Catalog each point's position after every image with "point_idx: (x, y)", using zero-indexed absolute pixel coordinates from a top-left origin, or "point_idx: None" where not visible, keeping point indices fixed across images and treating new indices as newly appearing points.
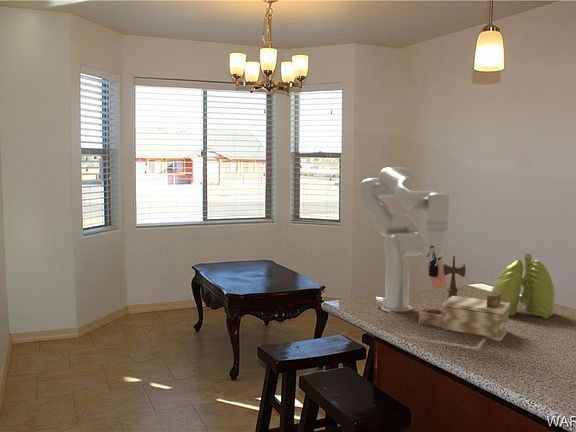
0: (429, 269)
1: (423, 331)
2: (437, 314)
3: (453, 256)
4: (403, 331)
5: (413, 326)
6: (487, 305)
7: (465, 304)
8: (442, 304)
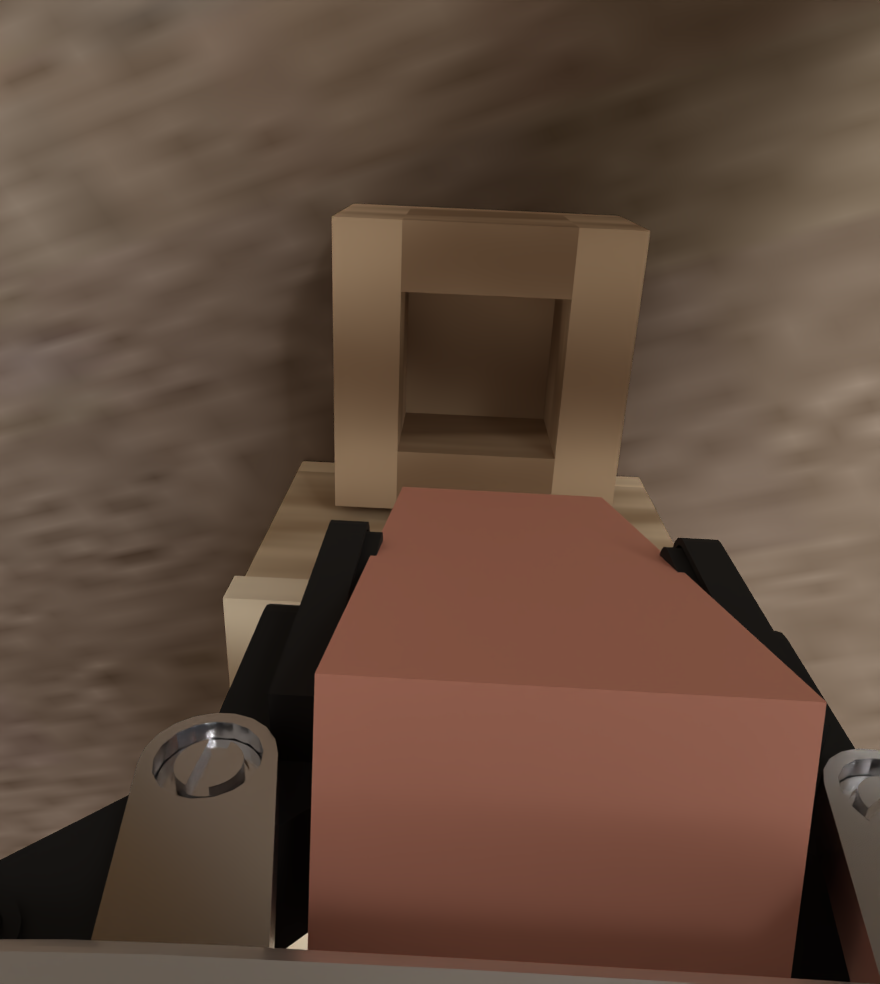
0: (295, 622)
1: (200, 307)
2: (383, 437)
3: None
4: (66, 116)
5: (314, 157)
6: None
7: None
8: (228, 587)
